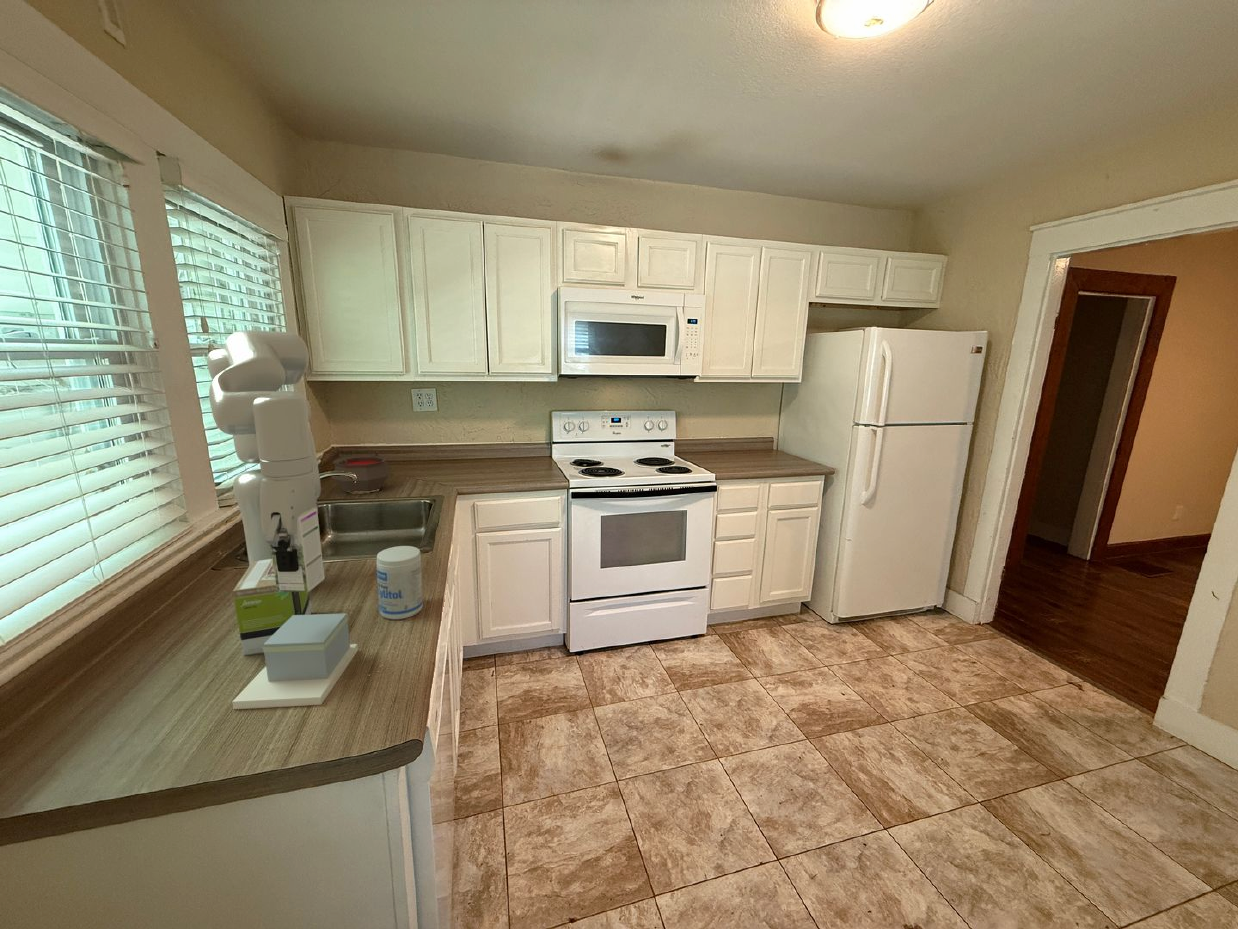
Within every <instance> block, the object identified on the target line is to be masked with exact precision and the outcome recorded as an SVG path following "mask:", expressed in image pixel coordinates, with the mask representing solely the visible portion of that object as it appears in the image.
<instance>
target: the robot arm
mask: <svg viewBox="0 0 1238 929" xmlns="http://www.w3.org/2000/svg"><path fill="white" fill-rule="evenodd" d="M309 361H310V354H309V350H308V346H307V344H306V342H305V341H304V340H303V338H302V337H301V336H299V334H296V333H294V332H290V331H274V330H259V329H258V330H255V329H252V330H251V329H250V330H249V329H247V330H238V331H236V332H233V333H232V334H230V335H229V336H227V338H226V340H225V343H224V347H223V348H222V347H221V348H217V349H213V350H211V351H210V352H208V354H207V358H206V364H207V365H206V366H207V369H208V373H209V376H210V378H211V380H212V381H211V383H210V386H209V391H208V392H209V393H208V396H209V397H208V398H209V404H210V408H211V413H212V417H213V421H214V424H215V425H216V427H217V428H218V429H219V430H220V431H221V432H222V433H224V434H227V435H230V436H232V440H233V444H234V450H235V454H236V456H237V458H238V459H239V461H241V462H242V463H244V464H259V467H260V469H259V468H257V469H252V470H248V471H243V472H242V473H240V474H238V475H237V476H236V477H235V478H234V480H233V483H232V484H233V485H232V487H233V493H234V496H235V500H236V502H237V505H238V508H239V512H240V515H241V520H242V525H243V531H244V537H245V543H246V544H245V545H246V551H247V552H246V553H247V558H248V563H249V566H250V565H251V564H252V562H253V561H260V560H268V559H272V552H271V547H272V548H273V551H274V552H275V553H276V561H277V569H278V571H279V572H296V571H298V570H299V566H298V557H297V549H294V534H295V533H297V517H299V516H300V515H301V514H302V513H304V512H305V511H307V510H309V509H310V508H317V514H319V508H318V498H319V497H320V496H321V492H322V491H321V490H322V486H321V485H322V484H321V483H322V482H321V477H320V472H319V465H318V458H317V452H316V451H317V450H316V446H315V445H316V444H315V440H314V439H315V438H314V435H313V434H312V433H313V432H312V431H311V429H310V427H309V422H311V420H312V410H311V409H312V408H311V405H310V401H309V400H308V399H306V398H305V396H304V395H303V394H302V393H300V392H297V391H292V390H280V389H281V388H282V387H283V386H289V385H290V386H292V385H296V384H298V383H299V382H300V381H301V380H302V378H303V376H304V375H305V373H306V371H307V369H308V366H309V363H310V362H309ZM279 390H280V391H279ZM281 529H287V533H280V530H281ZM281 537H288V541H287V542H285V541H284V540H281ZM249 566H248V567H249Z"/></svg>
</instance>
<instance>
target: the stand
mask: <svg viewBox="0 0 1238 929" xmlns="http://www.w3.org/2000/svg"><path fill="white" fill-rule="evenodd" d="M348 621H349V616H348V613H325V614H323V613H322V614H321V613H320V614H310V615H293V616H292V617H291V618H290V619H289V620H287V621H286V622H285V623H284V624H283V625H282V626H281V627H280V628H279V629H278V630H277V631H276V632H275V633H274V634H273V635H272V636H271V637H270V638H269V639H268V640H267V641H266V642H265V643H264V644H263V647H262V648H263V654H264V661H265V666H264V668H262V670H261V671H260V672H259V673H257V675H255V677H254V678H253V679H252V680H251V681H250V682H249V683H248V684H247V685H246V687H245V688H244V689H243V690H242V691H241V692H239V694H238V695H237V696H236V697H235V698H234V699H233V700H232V703H231V704H232V708H233V710H245V709H247V710H248V709H262V708H263V709H264V708H265V709H266V708H267V709H268V708H284V707H301V706H302V707H305V706H319V705H320V706H321V705H322V704H323V703H324V701H325V700H326V698H327V697H328V695H330V692H331V691H332V689H333V688H334V686H335V685H336V683H337V682H338V680H339V679H340V678H341V677H342V674H343V673H344V672H345V670H346V669H347V667H349V664H350V662H351V661H352V660H353V658H354V657H355V656H356V654H357V652H358V649H359V647H358V644H357V643H350V634H349V631H350V630H349V625H348V624H349V623H348Z"/></svg>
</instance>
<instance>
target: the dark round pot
mask: <svg viewBox="0 0 1238 929" xmlns="http://www.w3.org/2000/svg"><path fill="white" fill-rule="evenodd" d="M379 454H380V451H378V449H374V451H373V454H371V455H370V454H368V455H367V454H364V455H363V454H361V455H360V454H358V455H352V456H350V455H349V456H345V457H341V458H340V457H339V458H337V459H336V460H334V461H332V464H333V465H334V466H335V467H334V469H333V472H334V471H344V472H352V473H355V474H356V475H357V481H356V483H354V482H353V480H352V479H351V478H350V477H348V476H344V475H340V476H332V475H331V477H330V478H331V480H332V481H333V482H335V483H336V485H338V487H339V488H340V489H342V491H343V492H345V491H350V492H354V491H372V490H377V489H380V488H381V487H382V488H383V487H384V485H385V483H386V482H387V480H388V479H389V477H390V476H391V474H392V472H393V470H392V469H391V467H390V466H389V463H388V462H387V460H388V459H389V457H388V456H385V455H384V456H382V455H379ZM382 488H381V489H382ZM381 489H380V490H381Z"/></svg>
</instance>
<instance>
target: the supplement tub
mask: <svg viewBox="0 0 1238 929" xmlns="http://www.w3.org/2000/svg"><path fill="white" fill-rule="evenodd" d="M375 565H376V577H377V578H376V579H377V580H376V581H377V596H378V597H377V598H378V609H379V614H380V616H382V617H383V618H385V619H389V620H401V619H407V618H411V617H413V616H415V615H417V614H418V613H419V612H420V611H421V610H422V609H423V606H424V598H423V597H424V595H423V574H422V573H423V571H422V555H421V550H420V549H419V548H418V547H415V546H411V545H399V546H393V547H388V548H386V549H383V550H381V551H380V552H378V553H377V556H376V564H375Z"/></svg>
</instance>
